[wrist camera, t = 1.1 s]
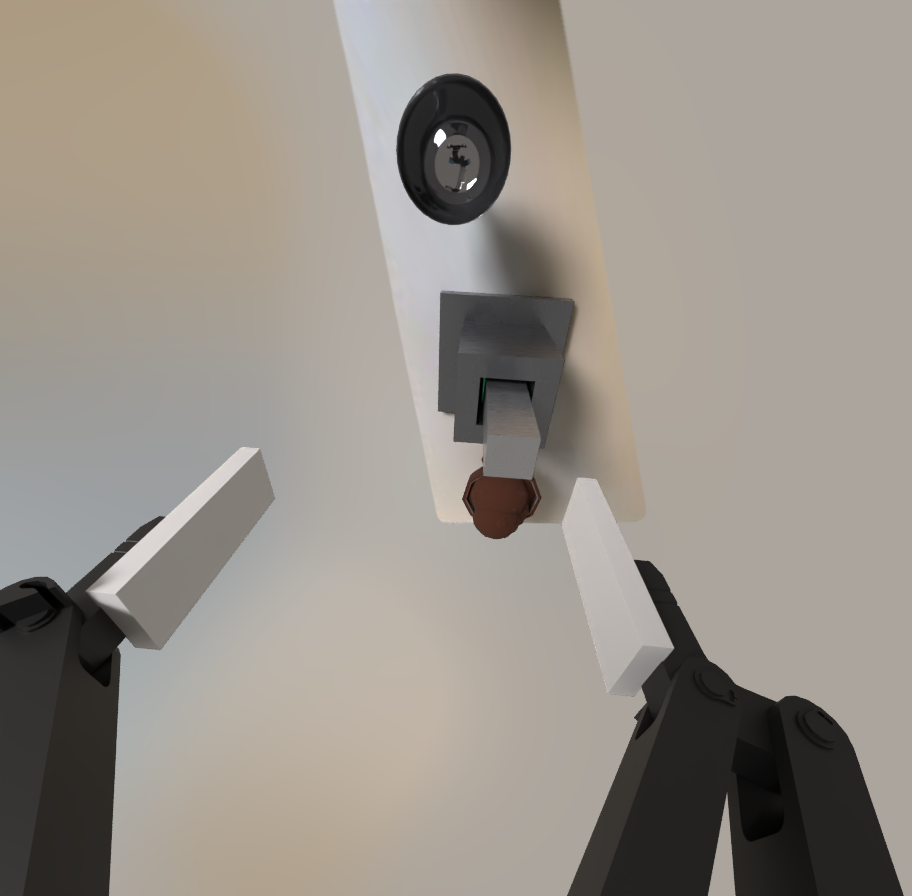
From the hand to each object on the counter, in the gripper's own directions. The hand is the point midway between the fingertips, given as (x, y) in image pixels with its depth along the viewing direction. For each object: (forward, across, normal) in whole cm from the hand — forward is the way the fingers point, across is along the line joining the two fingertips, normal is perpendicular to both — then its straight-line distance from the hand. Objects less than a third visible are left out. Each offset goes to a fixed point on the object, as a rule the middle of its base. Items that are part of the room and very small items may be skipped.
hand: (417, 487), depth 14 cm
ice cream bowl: (+35, +8, -22) cm, 42 cm away
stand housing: (+35, +6, -5) cm, 36 cm away
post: (+32, +6, -5) cm, 33 cm away
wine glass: (+35, -1, +14) cm, 37 cm away
